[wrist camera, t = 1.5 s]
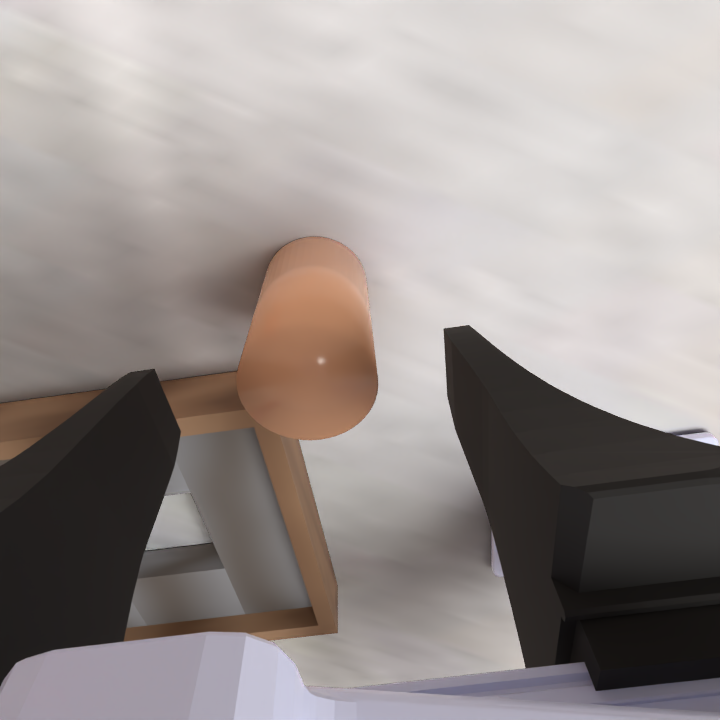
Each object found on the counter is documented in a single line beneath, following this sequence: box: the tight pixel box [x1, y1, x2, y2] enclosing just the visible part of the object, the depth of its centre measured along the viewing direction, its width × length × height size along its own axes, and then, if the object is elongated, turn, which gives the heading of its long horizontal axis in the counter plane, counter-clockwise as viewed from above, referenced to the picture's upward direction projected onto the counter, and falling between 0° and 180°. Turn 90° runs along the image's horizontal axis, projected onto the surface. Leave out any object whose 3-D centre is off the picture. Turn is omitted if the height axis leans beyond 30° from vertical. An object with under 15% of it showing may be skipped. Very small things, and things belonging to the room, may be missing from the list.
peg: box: [236, 237, 378, 440], centre depth 15 cm, size 4×4×6 cm
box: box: [0, 371, 338, 642], centre depth 23 cm, size 14×14×2 cm
